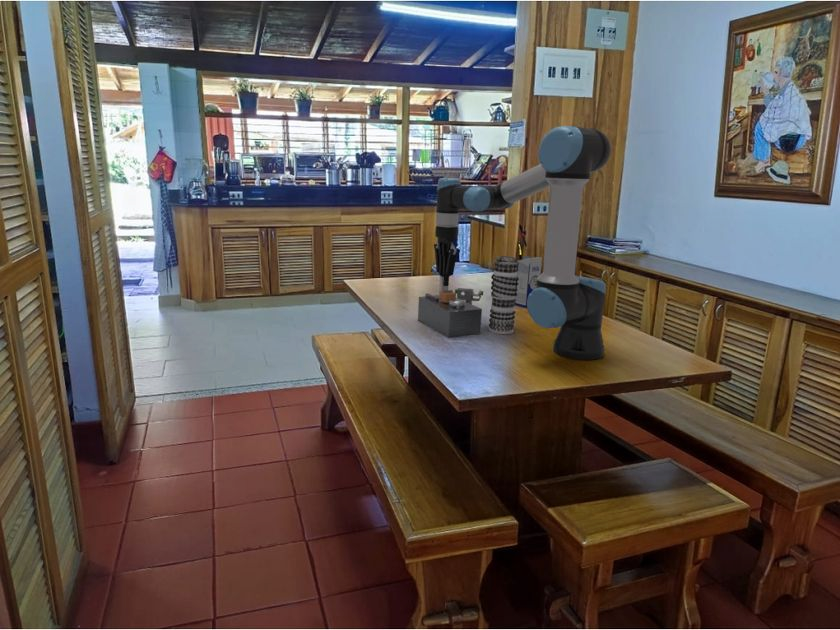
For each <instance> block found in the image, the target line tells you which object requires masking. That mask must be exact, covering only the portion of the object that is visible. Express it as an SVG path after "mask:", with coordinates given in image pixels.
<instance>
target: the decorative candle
mask: <svg viewBox="0 0 840 630" xmlns="http://www.w3.org/2000/svg"><path fill="white" fill-rule="evenodd" d="M517 261H518V260H517V258H516V257H515V256H506V255H502V256H501V255H500V256H498V257H497V258H496V259H495V260H494V261H493V262H494V270H493V273H492V274H491V278H490V279H491V286H490V289H491V290H492V291H491V292H490V297H491V299H492V300H491V305H490V309H489V313H490V314H489V317H490V318H489V319H488V322H489V324H488V331H489V332H491V333H494V334H498V335H510V334H512V333H514V332H515V330H514V328H515V320H514V319H515V318H516V316H515V314H516V311H515V310H516V309H515V307H516V305H514V303H515V299H516V296H517V293H515V291H518V289H517V288H515V286H516V285H519V284H518V283H517V282H516V281H518V280H519V278H517V273H518V271H517V266H518V263H519V262H517Z"/></svg>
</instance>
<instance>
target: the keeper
mask: <svg viewBox="0 0 840 630" xmlns="http://www.w3.org/2000/svg"><path fill="white" fill-rule="evenodd" d="M456 298H457V293H455V291H453V290H451V289H450V290H449V289H448V290H446V291H441V292H440V299H439V300H440V301H442V302H445V303H449V300H451V299H456Z"/></svg>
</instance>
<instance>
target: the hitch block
mask: <svg viewBox="0 0 840 630" xmlns="http://www.w3.org/2000/svg"><path fill="white" fill-rule="evenodd" d="M439 299H440V295H439V294H438V295H432V294H430V293H425V296H418V308H417V309H418V310H417V321H419V322H421V323H422V324H424V325H426V326H427V327H429V328H431V329H433V330H434V331H437V332H438V333H440V334H442V335H443V336H445V337H447V338H448V339H450V338H457V337H464V336H466V337H467V336H474V335H481V328H482V327H481V325H482V313H483V312H482V311H483V309H482V308H480V307H478V306H476V305H474V304H473V303H472V304H469V303H467V302H465V307H464V308H452V307H449V303H445V302H442V301H440V300H439ZM456 299H458V298H457V297H456Z"/></svg>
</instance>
